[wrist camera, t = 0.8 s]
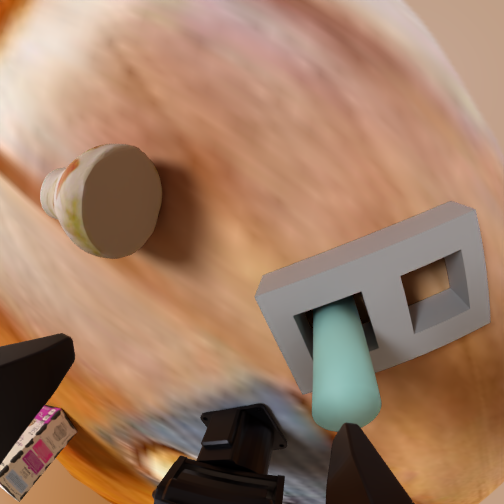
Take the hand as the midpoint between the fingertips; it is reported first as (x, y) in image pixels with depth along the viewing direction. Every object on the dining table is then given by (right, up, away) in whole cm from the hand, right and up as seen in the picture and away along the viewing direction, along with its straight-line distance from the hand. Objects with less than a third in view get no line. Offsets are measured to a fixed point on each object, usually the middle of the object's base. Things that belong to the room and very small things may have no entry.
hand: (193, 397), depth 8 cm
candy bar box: (-29, -20, +26) cm, 44 cm away
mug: (-9, +8, +13) cm, 18 cm away
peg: (+7, 0, +12) cm, 14 cm away
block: (+10, +2, +12) cm, 16 cm away
